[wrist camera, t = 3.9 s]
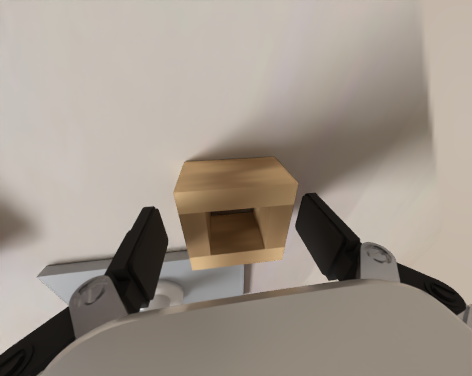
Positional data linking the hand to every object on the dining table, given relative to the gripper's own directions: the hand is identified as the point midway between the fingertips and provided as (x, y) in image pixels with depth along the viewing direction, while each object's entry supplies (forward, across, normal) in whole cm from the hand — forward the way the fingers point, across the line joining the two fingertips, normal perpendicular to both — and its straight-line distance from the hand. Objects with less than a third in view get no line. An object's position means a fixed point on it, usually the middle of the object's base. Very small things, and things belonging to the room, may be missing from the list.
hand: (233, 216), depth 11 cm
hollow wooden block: (+3, 0, 0) cm, 3 cm away
